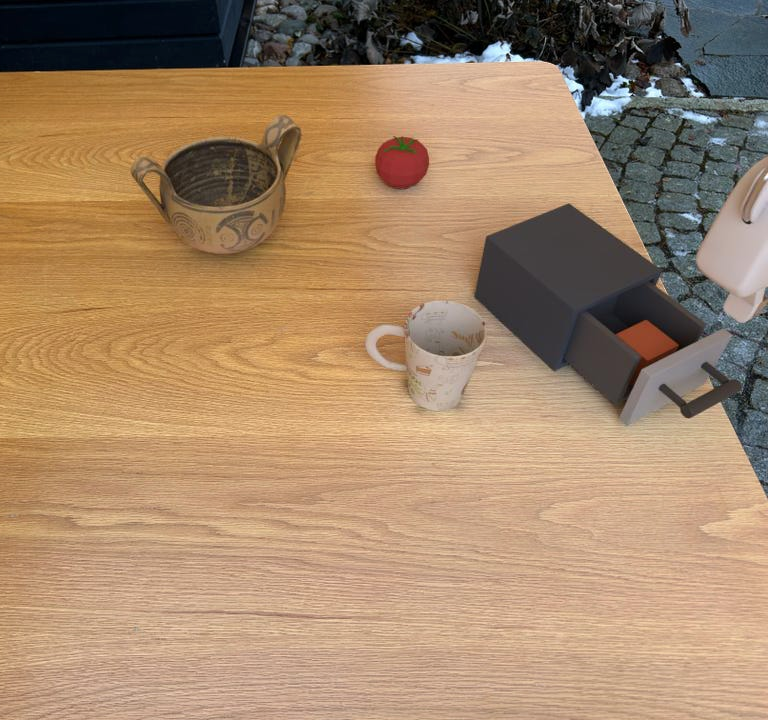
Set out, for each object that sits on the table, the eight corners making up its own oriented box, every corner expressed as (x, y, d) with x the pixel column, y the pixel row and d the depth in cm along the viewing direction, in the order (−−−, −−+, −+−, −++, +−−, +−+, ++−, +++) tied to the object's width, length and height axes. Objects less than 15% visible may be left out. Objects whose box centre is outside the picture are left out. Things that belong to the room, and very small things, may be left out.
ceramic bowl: (274, 184, 112) (269, 89, 101) (328, 246, 102) (328, 149, 91) (133, 228, 106) (111, 132, 95) (174, 299, 95) (155, 201, 84)
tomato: (365, 173, 113) (367, 128, 108) (411, 162, 115) (416, 117, 109) (387, 202, 108) (391, 156, 102) (436, 190, 110) (442, 144, 104)
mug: (466, 427, 80) (480, 364, 73) (352, 401, 83) (355, 338, 76) (478, 372, 85) (492, 308, 78) (371, 349, 88) (375, 286, 81)
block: (633, 347, 84) (646, 319, 81) (665, 373, 82) (679, 344, 78) (603, 362, 83) (615, 334, 80) (634, 389, 80) (647, 360, 77)
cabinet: (635, 332, 89) (662, 270, 82) (553, 371, 85) (574, 310, 78) (551, 263, 98) (569, 202, 91) (473, 297, 94) (485, 235, 87)
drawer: (737, 411, 79) (769, 361, 73) (658, 455, 76) (686, 406, 70) (613, 311, 90) (633, 261, 84) (539, 345, 86) (554, 296, 81)
